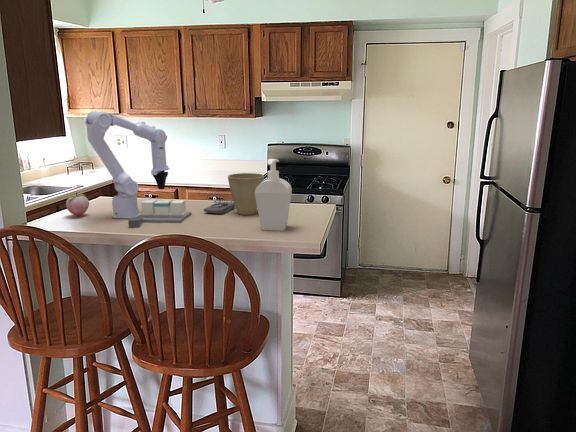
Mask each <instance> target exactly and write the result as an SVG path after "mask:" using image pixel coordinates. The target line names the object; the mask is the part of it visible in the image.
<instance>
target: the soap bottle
mask: <svg viewBox="0 0 576 432" xmlns="http://www.w3.org/2000/svg"><path fill="white" fill-rule="evenodd" d="M279 162H280V160H279V159H278V158H268V160H267V165H268V166H269V167H270V170H268V171H267V179H265V180H264V179H263V182H262V183H260V184H259V185H258V187H257V188H256V190H255V198H256V203H257V213H258V218H259V223H260V228H261V231H278V232H279V231H280V232H281V231H283V232H284V231H285V230H286V228H287V227H288V219H289V213H290V207H291V200H292V199H291V198H292V191H293V188H292V184H290V183H289V182H288V181H287V180H285V179H283V178H281V177H280V175H279V174H280V171H279V170H277V167H276V166H277V165H276V164H277V163H279Z"/></svg>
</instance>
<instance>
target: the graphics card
mask: <svg viewBox="0 0 576 432" xmlns="http://www.w3.org/2000/svg"><path fill="white" fill-rule="evenodd" d="M231 210H236V207H235V204H234V201H233V199H213V204H211V205H210V206H207V207H205V208H203V212H204V213H209V214H223V215H224V214H226V213H227V212H230V211H231Z"/></svg>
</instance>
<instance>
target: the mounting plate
mask: <svg viewBox="0 0 576 432" xmlns="http://www.w3.org/2000/svg"><path fill="white" fill-rule="evenodd" d="M156 201H158V200H157V199H145V200H143V201H141V203H140V204H141V213H142V214H141V217H142V223H158V224H160V223H163V224H165V223H167V224H168V223H169V224H170V223H171V224H180V223H182V222H183V221H185V220H186V219H187V218H189V217H190V216H192V211H187V210H186V209H187V208H186V200H181V199H180V200H177V199H175V200H172V202H171V203H170V208H171V214H169V215H155V207H154V203H155V202H156Z"/></svg>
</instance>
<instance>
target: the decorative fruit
mask: <svg viewBox="0 0 576 432" xmlns="http://www.w3.org/2000/svg"><path fill="white" fill-rule="evenodd" d="M65 208H66V209H67V211H68V212H69V213H70V214H71V215H73V216H77V217H81V216H82V215H83V214H85V213H86V212H87V211H88V209H89V208H90V200H89V199H88V198H87V197H86V195H85V194H83V193H79V194H78V193H77V192H76V193H75V195H73V196H70V197H69V198H67V200H66V201H65Z"/></svg>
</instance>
